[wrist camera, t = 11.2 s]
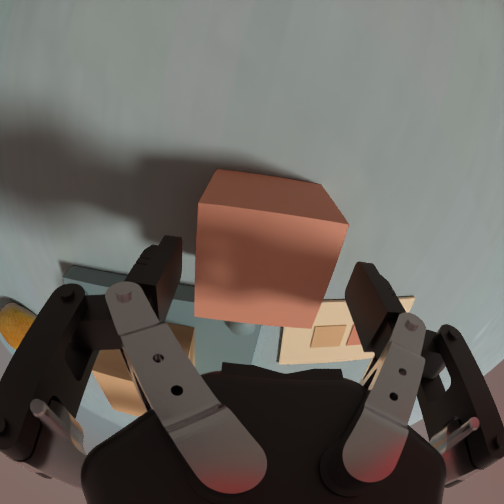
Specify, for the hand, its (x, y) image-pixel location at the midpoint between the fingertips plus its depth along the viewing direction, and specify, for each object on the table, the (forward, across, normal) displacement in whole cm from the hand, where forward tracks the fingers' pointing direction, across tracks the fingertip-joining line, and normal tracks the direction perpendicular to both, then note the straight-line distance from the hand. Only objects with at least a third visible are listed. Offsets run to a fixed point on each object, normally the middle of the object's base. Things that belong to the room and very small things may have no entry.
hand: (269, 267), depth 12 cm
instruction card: (+4, -8, +8) cm, 11 cm away
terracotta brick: (+4, 0, 0) cm, 4 cm away
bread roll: (+4, +23, +16) cm, 28 cm away
